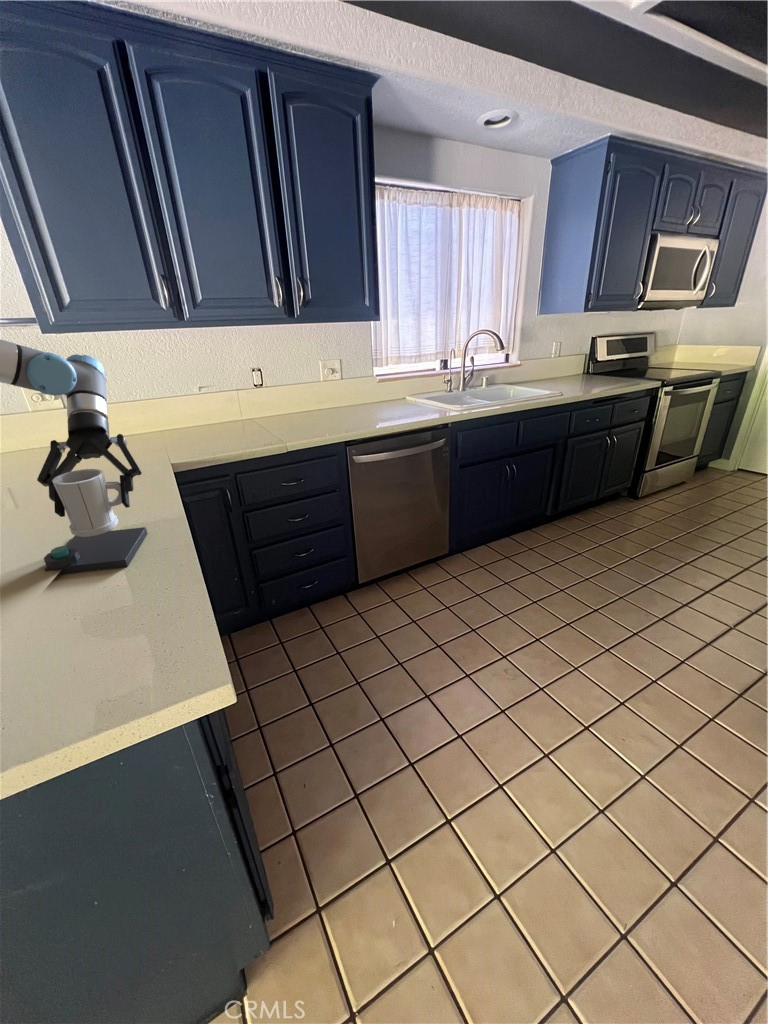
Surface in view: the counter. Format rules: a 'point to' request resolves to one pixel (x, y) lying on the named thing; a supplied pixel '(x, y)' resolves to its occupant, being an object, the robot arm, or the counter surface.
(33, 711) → the counter surface
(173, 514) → the counter surface
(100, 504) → the cup
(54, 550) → the scale button
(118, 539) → the scale
